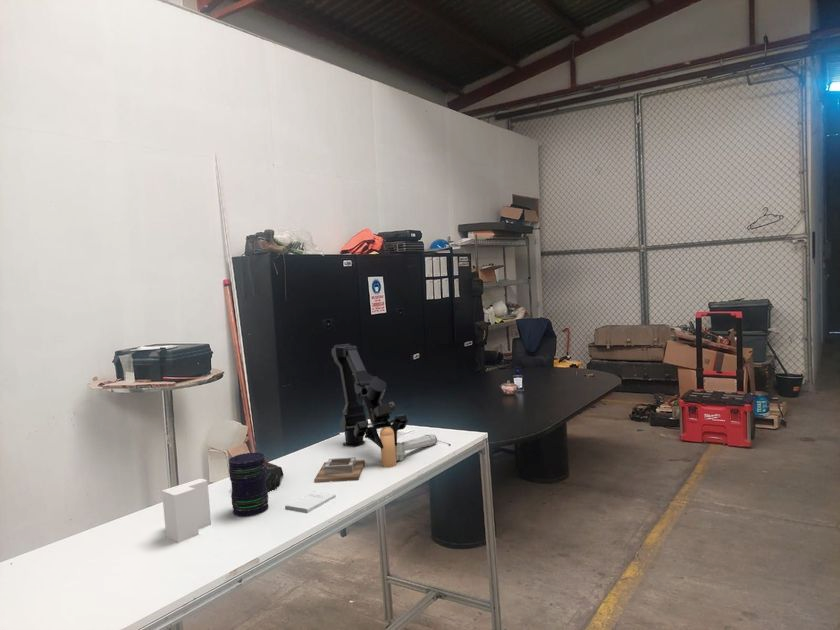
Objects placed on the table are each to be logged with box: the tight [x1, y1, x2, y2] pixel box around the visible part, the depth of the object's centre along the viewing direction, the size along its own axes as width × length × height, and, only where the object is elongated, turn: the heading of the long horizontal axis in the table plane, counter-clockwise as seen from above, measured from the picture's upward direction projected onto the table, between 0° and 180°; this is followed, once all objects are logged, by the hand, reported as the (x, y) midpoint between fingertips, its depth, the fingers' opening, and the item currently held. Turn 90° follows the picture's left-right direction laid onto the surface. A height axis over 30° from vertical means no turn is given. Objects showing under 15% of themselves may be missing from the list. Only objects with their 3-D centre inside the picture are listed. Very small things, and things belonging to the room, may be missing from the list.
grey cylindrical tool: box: [395, 434, 438, 462], centre depth 210 cm, size 5×7×25 cm
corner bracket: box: [161, 478, 212, 544], centre depth 153 cm, size 11×11×12 cm
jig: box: [314, 457, 366, 483], centre depth 193 cm, size 18×14×3 cm
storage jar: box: [228, 452, 269, 518], centre depth 164 cm, size 10×10×15 cm
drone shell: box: [264, 459, 284, 493], centre depth 187 cm, size 21×20×8 cm
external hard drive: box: [284, 490, 337, 514], centre depth 166 cm, size 2×8×12 cm
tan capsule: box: [379, 427, 397, 468], centre depth 197 cm, size 5×5×13 cm
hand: (389, 446), depth 196 cm, fingers closed on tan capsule, 5 cm apart
